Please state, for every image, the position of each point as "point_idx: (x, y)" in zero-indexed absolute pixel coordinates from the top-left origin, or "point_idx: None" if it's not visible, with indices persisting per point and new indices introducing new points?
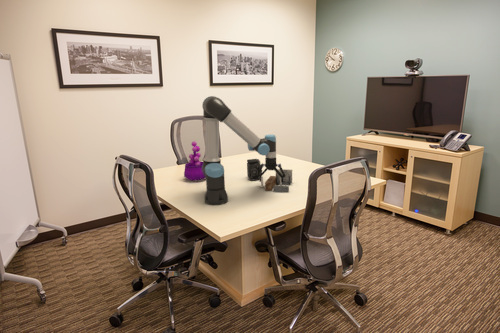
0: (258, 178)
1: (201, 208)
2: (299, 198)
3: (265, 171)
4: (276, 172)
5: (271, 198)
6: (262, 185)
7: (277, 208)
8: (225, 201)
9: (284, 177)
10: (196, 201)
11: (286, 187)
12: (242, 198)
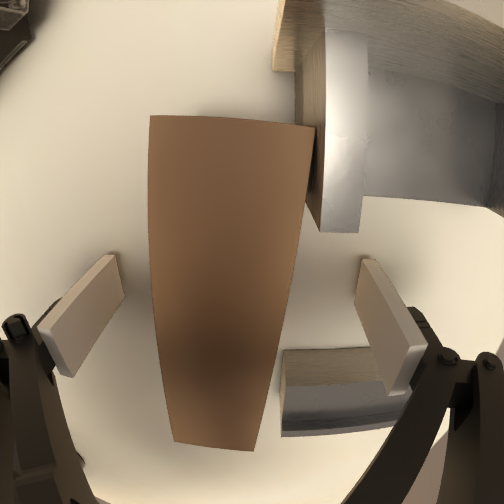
0: (16, 42)
1: None
2: None
3: (85, 485)
4: (312, 16)
5: (275, 461)
6: (117, 275)
7: (308, 499)
8: (82, 467)
9: (452, 80)
10: None
11: None
12: (114, 449)
